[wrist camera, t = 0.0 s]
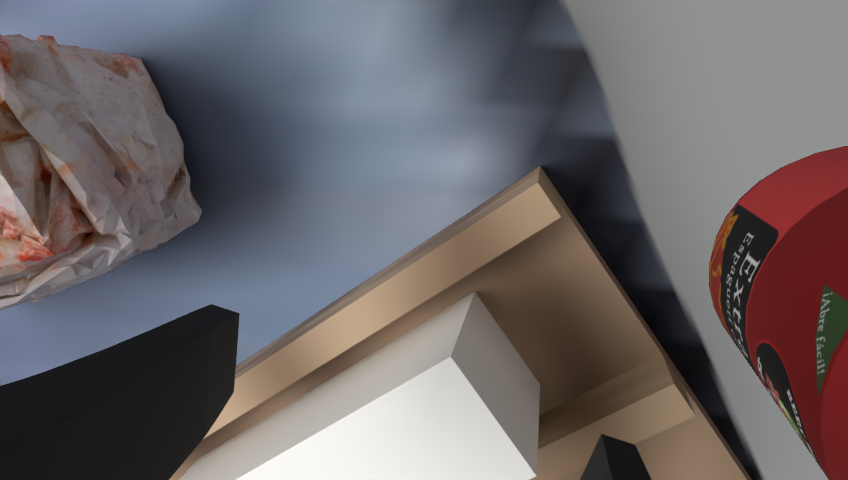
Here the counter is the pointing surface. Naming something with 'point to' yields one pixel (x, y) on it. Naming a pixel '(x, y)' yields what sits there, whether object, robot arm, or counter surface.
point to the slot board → (526, 330)
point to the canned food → (793, 296)
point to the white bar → (403, 414)
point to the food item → (82, 167)
